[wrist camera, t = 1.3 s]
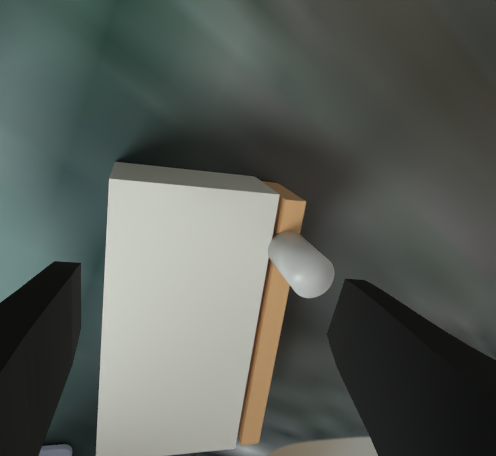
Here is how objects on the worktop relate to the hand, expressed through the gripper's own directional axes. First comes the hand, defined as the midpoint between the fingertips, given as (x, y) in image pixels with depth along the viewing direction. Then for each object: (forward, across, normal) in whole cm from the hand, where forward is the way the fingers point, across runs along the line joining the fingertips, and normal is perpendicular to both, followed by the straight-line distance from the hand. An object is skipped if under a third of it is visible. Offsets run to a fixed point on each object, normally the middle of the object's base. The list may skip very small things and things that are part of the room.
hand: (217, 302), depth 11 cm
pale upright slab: (+10, 0, +7) cm, 12 cm away
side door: (+10, -4, +7) cm, 12 cm away
